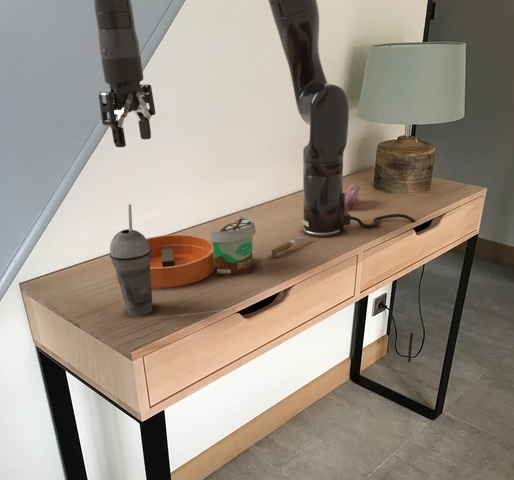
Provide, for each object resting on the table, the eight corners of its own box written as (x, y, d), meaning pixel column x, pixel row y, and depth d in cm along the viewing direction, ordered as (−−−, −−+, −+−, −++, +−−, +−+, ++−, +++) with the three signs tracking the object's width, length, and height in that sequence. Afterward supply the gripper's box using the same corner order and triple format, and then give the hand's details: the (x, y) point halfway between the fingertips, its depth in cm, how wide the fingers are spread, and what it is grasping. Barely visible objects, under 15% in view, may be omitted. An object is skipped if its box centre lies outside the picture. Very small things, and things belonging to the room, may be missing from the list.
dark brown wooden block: (179, 256, 131) (177, 245, 130) (182, 281, 118) (180, 269, 117) (157, 258, 130) (156, 247, 129) (158, 284, 118) (156, 272, 116)
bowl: (211, 249, 135) (209, 230, 133) (220, 283, 117) (219, 262, 115) (123, 258, 132) (120, 239, 130) (120, 294, 115) (116, 273, 113)
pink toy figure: (349, 217, 155) (362, 194, 152) (334, 209, 155) (346, 186, 152) (351, 206, 164) (363, 184, 160) (337, 199, 164) (349, 176, 160)
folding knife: (306, 240, 137) (306, 231, 136) (311, 241, 136) (311, 233, 135) (269, 257, 129) (269, 248, 128) (274, 258, 128) (274, 250, 127)
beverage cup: (122, 304, 111) (104, 200, 101) (161, 301, 111) (145, 197, 101) (118, 321, 105) (97, 213, 95) (158, 318, 105) (142, 209, 95)
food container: (239, 283, 117) (235, 235, 112) (213, 278, 120) (209, 231, 115) (267, 262, 126) (266, 217, 121) (243, 258, 129) (240, 214, 124)
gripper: (112, 58, 104) (126, 150, 113) (158, 52, 115) (168, 137, 123) (80, 58, 108) (97, 149, 116) (128, 53, 118) (140, 135, 127)
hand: (133, 142), depth 120 cm, fingers open, 8 cm apart
